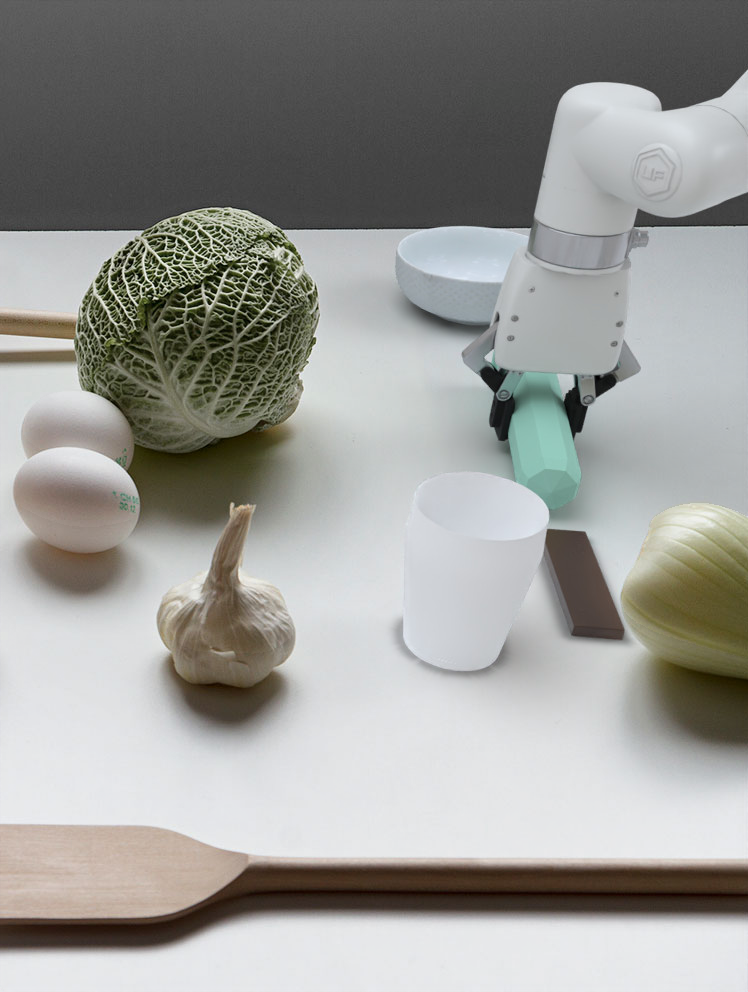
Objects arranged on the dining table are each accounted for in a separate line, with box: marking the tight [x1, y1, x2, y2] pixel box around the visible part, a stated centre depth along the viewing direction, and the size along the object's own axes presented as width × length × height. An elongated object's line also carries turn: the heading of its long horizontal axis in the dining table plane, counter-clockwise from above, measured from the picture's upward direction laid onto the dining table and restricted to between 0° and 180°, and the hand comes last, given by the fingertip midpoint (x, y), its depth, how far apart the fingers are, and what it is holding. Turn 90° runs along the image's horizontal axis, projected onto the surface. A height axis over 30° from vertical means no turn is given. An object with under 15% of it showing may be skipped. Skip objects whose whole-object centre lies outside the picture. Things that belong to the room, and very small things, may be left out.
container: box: [490, 350, 583, 510], centre depth 114 cm, size 6×6×25 cm
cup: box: [402, 471, 550, 672], centre depth 90 cm, size 9×9×12 cm
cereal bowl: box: [394, 225, 530, 326], centre depth 141 cm, size 17×17×7 cm
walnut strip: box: [543, 528, 626, 641], centre depth 99 cm, size 4×13×1 cm, turn 171°
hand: (532, 434), depth 115 cm, fingers closed on container, 4 cm apart
